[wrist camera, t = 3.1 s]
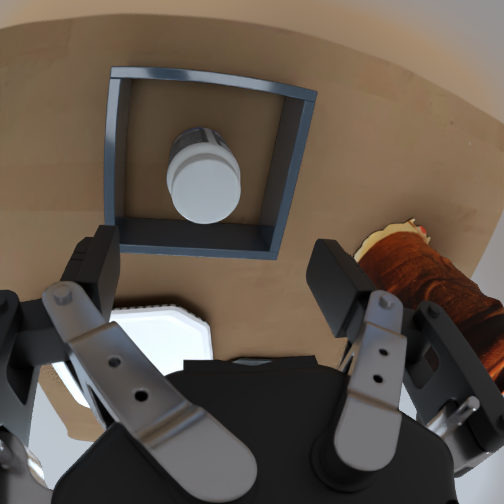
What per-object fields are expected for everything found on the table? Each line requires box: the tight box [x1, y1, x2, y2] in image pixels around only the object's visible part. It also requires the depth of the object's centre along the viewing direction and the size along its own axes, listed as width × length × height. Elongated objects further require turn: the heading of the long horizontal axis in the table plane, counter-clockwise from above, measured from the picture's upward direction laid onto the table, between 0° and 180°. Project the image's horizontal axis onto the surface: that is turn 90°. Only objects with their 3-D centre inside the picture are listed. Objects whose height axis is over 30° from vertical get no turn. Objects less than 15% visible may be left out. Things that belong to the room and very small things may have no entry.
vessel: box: [354, 219, 504, 426], centre depth 27 cm, size 14×14×20 cm
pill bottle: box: [166, 127, 241, 224], centre depth 21 cm, size 5×5×8 cm
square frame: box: [104, 66, 317, 260], centre depth 23 cm, size 14×14×4 cm
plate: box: [52, 304, 213, 408], centre depth 35 cm, size 21×21×2 cm
